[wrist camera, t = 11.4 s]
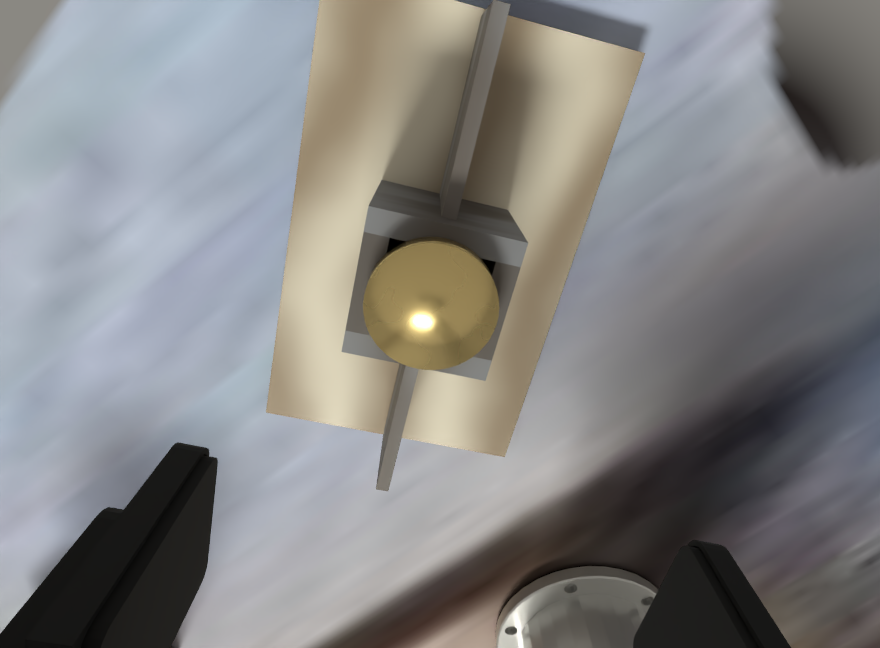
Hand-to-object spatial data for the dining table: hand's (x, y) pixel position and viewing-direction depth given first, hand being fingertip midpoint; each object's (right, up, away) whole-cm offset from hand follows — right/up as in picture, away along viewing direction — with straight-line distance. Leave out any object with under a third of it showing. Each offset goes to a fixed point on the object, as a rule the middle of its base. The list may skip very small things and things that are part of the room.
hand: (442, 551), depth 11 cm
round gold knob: (0, +7, +16) cm, 17 cm away
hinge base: (0, +8, +17) cm, 19 cm away
